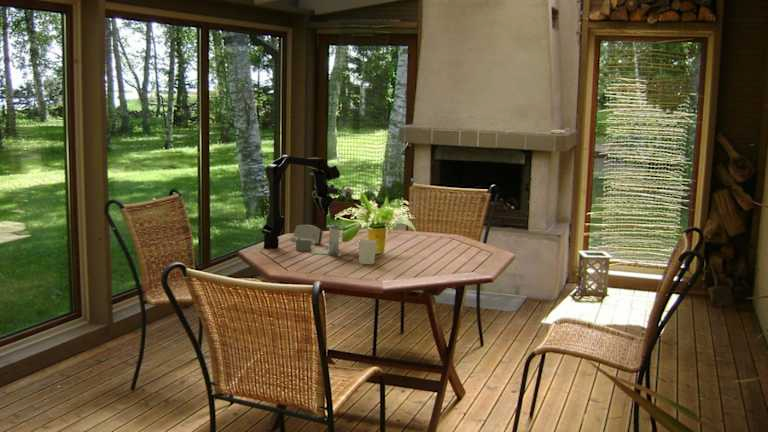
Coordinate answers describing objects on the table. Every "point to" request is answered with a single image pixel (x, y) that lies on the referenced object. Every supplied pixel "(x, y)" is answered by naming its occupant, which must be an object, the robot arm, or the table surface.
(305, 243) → the unit
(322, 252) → the pad
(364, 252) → the white cup
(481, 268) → the table surface
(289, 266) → the table surface
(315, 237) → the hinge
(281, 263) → the table surface
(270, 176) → the robot arm
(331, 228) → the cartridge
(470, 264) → the table surface
